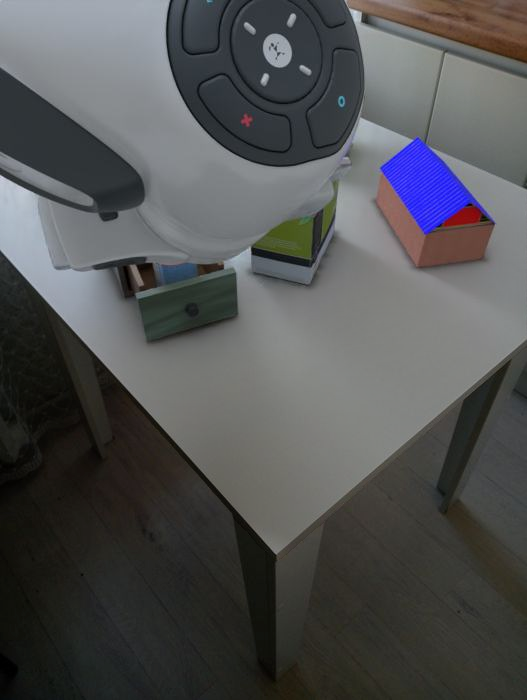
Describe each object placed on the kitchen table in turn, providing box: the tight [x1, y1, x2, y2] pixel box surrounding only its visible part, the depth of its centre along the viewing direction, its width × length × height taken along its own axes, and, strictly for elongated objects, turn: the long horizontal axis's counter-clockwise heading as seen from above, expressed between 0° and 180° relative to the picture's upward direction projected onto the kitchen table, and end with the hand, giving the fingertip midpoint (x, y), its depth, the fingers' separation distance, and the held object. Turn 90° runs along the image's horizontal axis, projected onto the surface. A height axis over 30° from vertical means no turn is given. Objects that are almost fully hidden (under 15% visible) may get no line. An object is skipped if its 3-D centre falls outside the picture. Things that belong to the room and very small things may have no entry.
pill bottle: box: [153, 262, 198, 287], centre depth 77 cm, size 6×6×11 cm
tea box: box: [250, 178, 340, 286], centre depth 86 cm, size 15×10×15 cm, turn 160°
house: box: [375, 136, 496, 269], centre depth 92 cm, size 12×20×12 cm, turn 12°
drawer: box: [124, 261, 239, 342], centre depth 79 cm, size 16×14×8 cm
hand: (180, 231), depth 46 cm, fingers open, 8 cm apart
